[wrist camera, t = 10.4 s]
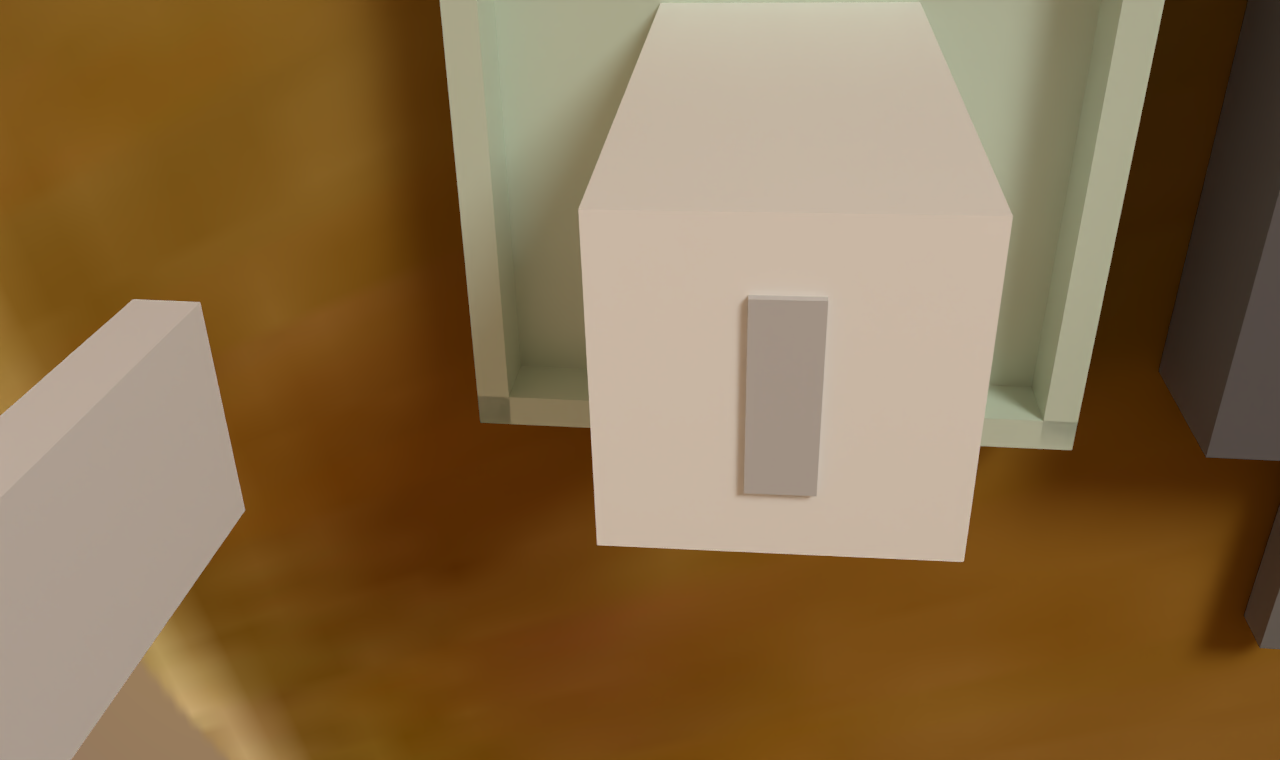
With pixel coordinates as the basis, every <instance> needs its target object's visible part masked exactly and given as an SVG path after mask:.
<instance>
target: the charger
mask: <svg viewBox="0 0 1280 760" xmlns="http://www.w3.org/2000/svg"><path fill="white" fill-rule="evenodd" d="M578 213H579V231H580V249H581V267H582V285H583V303H584V320H585V338H586V356H587V374H588V392H589V410H590V428H591V445H592V463H593V481H594V499H595V517H596V535H597V545H604V546H626V547H648V548H670V549H692V550H713V551H735V552H757V553H779V554H801V555H822V556H844V557H866V558H888V559H910V560H931V561H953V562H964V556H965V549H966V542H967V535H968V528H969V521H970V514H971V507H972V500H973V493H974V486H975V479H976V472H977V465H978V458H979V451H980V444H981V437H982V430H983V423H984V416H985V409H986V402H987V395H988V388H989V381H990V374H991V367H992V360H993V353H994V346H995V339H996V332H997V325H998V318H999V311H1000V304H1001V297H1002V290H1003V283H1004V276H1005V269H1006V262H1007V255H1008V248H1009V241H1010V234H1011V227H1012V220H1013V215H1012V213H1011V210H1010V208H1009V206H1008V203H1007V201H1006V199H1005V197H1004V194H1003V192H1002V190H1001V187H1000V185H999V183H998V180H997V178H996V176H995V174H994V171H993V169H992V167H991V164H990V162H989V160H988V157H987V155H986V153H985V150H984V148H983V146H982V144H981V141H980V139H979V137H978V134H977V132H976V130H975V127H974V125H973V123H972V121H971V118H970V116H969V114H968V111H967V109H966V107H965V104H964V102H963V100H962V97H961V95H960V93H959V91H958V88H957V86H956V84H955V81H954V79H953V77H952V74H951V72H950V70H949V67H948V65H947V63H946V61H945V58H944V56H943V54H942V51H941V49H940V47H939V44H938V42H937V40H936V38H935V35H934V33H933V31H932V28H931V26H930V24H929V21H928V19H927V17H926V14H925V12H924V10H923V8H922V5H921V3H920V2H814V3H660V6H659V8H658V11H657V13H656V16H655V18H654V21H653V23H652V26H651V28H650V31H649V33H648V36H647V38H646V41H645V43H644V46H643V48H642V51H641V53H640V56H639V58H638V61H637V63H636V66H635V68H634V71H633V73H632V76H631V78H630V81H629V83H628V86H627V88H626V91H625V93H624V96H623V98H622V101H621V103H620V106H619V108H618V111H617V113H616V116H615V118H614V121H613V124H612V126H611V129H610V131H609V134H608V136H607V139H606V141H605V144H604V146H603V149H602V151H601V154H600V156H599V159H598V161H597V164H596V166H595V169H594V171H593V174H592V176H591V179H590V181H589V184H588V186H587V189H586V191H585V194H584V196H583V199H582V201H581V204H580V206H579V209H578Z"/></svg>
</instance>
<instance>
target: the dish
mask: <svg viewBox="0 0 1280 760" xmlns="http://www.w3.org/2000/svg"><path fill="white" fill-rule="evenodd" d="M814 2H920V3H921V5H922V8H923V10H924V12H925V14H926V17H927V19H928V21H929V24H930V26H931V28H932V31H933V33H934V35H935V38H936V40H937V42H938V44H939V47H940V49H941V51H942V54H943V56H944V58H945V61H946V63H947V65H948V67H949V70H950V72H951V74H952V77H953V79H954V81H955V84H956V86H957V88H958V91H959V93H960V95H961V97H962V100H963V102H964V104H965V107H966V109H967V111H968V114H969V116H970V118H971V121H972V123H973V125H974V127H975V130H976V132H977V134H978V137H979V139H980V141H981V144H982V146H983V148H984V150H985V153H986V155H987V157H988V160H989V162H990V164H991V167H992V169H993V171H994V174H995V176H996V178H997V180H998V183H999V185H1000V187H1001V190H1002V192H1003V194H1004V197H1005V199H1006V201H1007V203H1008V206H1009V208H1010V210H1011V213H1012V215H1013V220H1012V227H1011V234H1010V241H1009V248H1008V255H1007V262H1006V269H1005V276H1004V283H1003V290H1002V297H1001V304H1000V311H999V318H998V325H997V332H996V339H995V346H994V353H993V360H992V367H991V374H990V381H989V388H988V395H987V402H986V409H985V416H984V423H983V430H982V437H981V444H980V446H991V447H1012V448H1034V449H1055V450H1072V448H1073V443H1074V438H1075V433H1076V428H1077V424H1078V419H1079V414H1080V409H1081V404H1082V399H1083V394H1084V390H1085V385H1086V380H1087V375H1088V370H1089V365H1090V361H1091V356H1092V351H1093V346H1094V341H1095V336H1096V331H1097V327H1098V322H1099V317H1100V312H1101V307H1102V302H1103V298H1104V293H1105V288H1106V283H1107V278H1108V273H1109V268H1110V264H1111V259H1112V254H1113V249H1114V244H1115V239H1116V235H1117V230H1118V225H1119V220H1120V215H1121V210H1122V206H1123V201H1124V196H1125V191H1126V186H1127V181H1128V176H1129V172H1130V167H1131V162H1132V157H1133V152H1134V147H1135V143H1136V138H1137V133H1138V128H1139V123H1140V118H1141V113H1142V109H1143V104H1144V99H1145V94H1146V89H1147V84H1148V80H1149V75H1150V70H1151V65H1152V60H1153V55H1154V50H1155V46H1156V41H1157V36H1158V31H1159V26H1160V21H1161V17H1162V12H1163V7H1164V2H1165V0H440V10H441V20H442V30H443V41H444V51H445V62H446V72H447V82H448V93H449V103H450V114H451V124H452V134H453V145H454V155H455V165H456V176H457V186H458V197H459V207H460V217H461V228H462V238H463V249H464V259H465V269H466V280H467V290H468V300H469V311H470V321H471V332H472V342H473V352H474V363H475V373H476V384H477V394H478V404H479V415H480V423H497V424H519V425H540V426H562V427H583V428H590V410H589V392H588V374H587V356H586V338H585V320H584V303H583V285H582V267H581V249H580V231H579V213H578V209H579V206H580V204H581V201H582V199H583V196H584V194H585V191H586V189H587V186H588V184H589V181H590V179H591V176H592V174H593V171H594V169H595V166H596V164H597V161H598V159H599V156H600V154H601V151H602V149H603V146H604V144H605V141H606V139H607V136H608V134H609V131H610V129H611V126H612V124H613V121H614V118H615V116H616V113H617V111H618V108H619V106H620V103H621V101H622V98H623V96H624V93H625V91H626V88H627V86H628V83H629V81H630V78H631V76H632V73H633V71H634V68H635V66H636V63H637V61H638V58H639V56H640V53H641V51H642V48H643V46H644V43H645V41H646V38H647V36H648V33H649V31H650V28H651V26H652V23H653V21H654V18H655V16H656V13H657V11H658V8H659V6H660V3H814Z"/></svg>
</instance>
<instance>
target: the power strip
mask: <svg viewBox="0 0 1280 760" xmlns="http://www.w3.org/2000/svg"><path fill="white" fill-rule="evenodd" d="M1159 373H1160V375H1161V376H1162V378H1163V380H1164V382H1165V384H1166V386H1167V387H1168V389H1169V391H1170V393H1171V395H1172V397H1173V398H1174V400H1175V402H1176V404H1177V406H1178V407H1179V409H1180V411H1181V413H1182V415H1183V417H1184V418H1185V420H1186V422H1187V424H1188V426H1189V427H1190V429H1191V431H1192V433H1193V435H1194V437H1195V438H1196V440H1197V442H1198V444H1199V446H1200V448H1201V449H1202V451H1203V453H1204V455H1205V457H1209V458H1230V459H1251V460H1273V461H1280V0H1248V3H1247V7H1246V11H1245V15H1244V19H1243V23H1242V28H1241V32H1240V36H1239V40H1238V44H1237V48H1236V52H1235V57H1234V61H1233V65H1232V69H1231V73H1230V77H1229V81H1228V86H1227V90H1226V94H1225V98H1224V102H1223V106H1222V110H1221V115H1220V119H1219V123H1218V127H1217V131H1216V135H1215V139H1214V144H1213V148H1212V152H1211V156H1210V160H1209V164H1208V169H1207V173H1206V177H1205V181H1204V185H1203V189H1202V193H1201V198H1200V202H1199V206H1198V210H1197V214H1196V218H1195V222H1194V227H1193V231H1192V235H1191V239H1190V243H1189V247H1188V251H1187V256H1186V260H1185V264H1184V268H1183V272H1182V276H1181V280H1180V285H1179V289H1178V293H1177V297H1176V301H1175V305H1174V310H1173V314H1172V318H1171V322H1170V326H1169V330H1168V334H1167V339H1166V343H1165V347H1164V351H1163V355H1162V359H1161V363H1160V368H1159ZM1244 617H1245V619H1246V621H1247V623H1248V625H1249V627H1250V629H1251V631H1252V633H1253V635H1254V637H1255V639H1256V641H1257V643H1258V645H1259V647H1260V648H1270V649H1280V505H1279V508H1278V512H1277V515H1276V518H1275V521H1274V524H1273V527H1272V530H1271V533H1270V536H1269V539H1268V543H1267V546H1266V549H1265V552H1264V555H1263V558H1262V561H1261V564H1260V567H1259V570H1258V574H1257V577H1256V580H1255V583H1254V586H1253V589H1252V592H1251V595H1250V598H1249V602H1248V605H1247V608H1246V611H1245V614H1244Z"/></svg>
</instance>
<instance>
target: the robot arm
mask: <svg viewBox="0 0 1280 760" xmlns="http://www.w3.org/2000/svg"><path fill="white" fill-rule="evenodd" d="M244 511H245V508H244V503H243V498H242V494H241V489H240V484H239V480H238V475H237V471H236V466H235V461H234V457H233V452H232V447H231V443H230V438H229V433H228V429H227V424H226V420H225V415H224V410H223V406H222V401H221V396H220V392H219V387H218V382H217V378H216V373H215V368H214V364H213V359H212V355H211V350H210V345H209V341H208V336H207V331H206V327H205V322H204V317H203V313H202V308H201V304H200V302H186V301H163V300H139V299H133V300H132V301H131V302H129V303H128V304H127V305H126V306H125V307H124V308H123V309H121V310H120V311H119V312H118V313H117V314H116V315H115V316H113V317H112V318H111V319H110V320H109V321H108V322H107V323H105V324H104V325H103V326H102V327H101V328H100V329H99V330H98V331H96V332H95V333H94V334H93V335H92V336H91V337H90V338H88V339H87V340H86V341H85V342H84V343H83V344H82V345H80V346H79V347H78V348H77V349H76V350H75V351H74V352H72V353H71V354H70V355H69V356H68V357H67V358H66V359H64V360H63V361H62V362H61V363H60V364H59V365H58V366H56V367H55V368H54V369H53V370H52V371H51V372H50V373H48V374H47V375H46V376H45V377H44V378H43V379H42V380H41V381H39V382H38V383H37V384H36V385H35V386H34V387H33V388H31V389H30V390H29V391H28V392H27V393H26V394H25V395H23V396H22V397H21V398H20V399H19V400H18V401H17V402H15V403H14V404H13V405H12V406H11V407H10V408H9V409H7V410H6V411H5V412H4V413H3V414H2V415H1V416H0V760H71V759H72V758H73V757H74V755H75V754H76V752H77V751H78V749H79V748H80V747H81V745H82V744H83V742H84V741H85V739H86V738H87V737H88V735H89V733H90V732H91V731H92V729H93V728H94V726H95V725H96V724H97V722H98V721H99V719H100V718H101V716H102V715H103V714H104V712H105V711H106V709H107V708H108V706H109V705H110V704H111V702H112V701H113V699H114V698H115V696H116V695H117V693H118V692H119V690H120V689H121V687H122V686H123V685H124V683H125V682H126V680H127V679H128V678H129V676H130V675H131V673H132V672H133V671H134V669H135V668H136V666H137V665H138V663H139V662H140V660H141V659H142V658H143V656H144V655H145V653H146V652H147V650H148V649H149V648H150V646H151V645H152V643H153V642H154V640H155V639H156V638H157V636H158V635H159V633H160V632H161V630H162V629H163V627H164V626H165V625H166V623H167V622H168V620H169V619H170V617H171V616H172V615H173V613H174V612H175V610H176V609H177V607H178V606H179V605H180V603H181V602H182V600H183V599H184V597H185V596H186V594H187V593H188V592H189V590H190V589H191V587H192V586H193V584H194V583H195V582H196V580H197V579H198V577H199V576H200V574H201V573H202V571H203V570H204V569H205V567H206V566H207V564H208V563H209V561H210V560H211V559H212V557H213V556H214V554H215V553H216V551H217V550H218V549H219V547H220V546H221V544H222V543H223V541H224V540H225V538H226V537H227V536H228V534H229V533H230V531H231V530H232V528H233V527H234V526H235V524H236V523H237V521H238V520H239V518H240V517H241V516H242V514H243V513H244Z"/></svg>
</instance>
